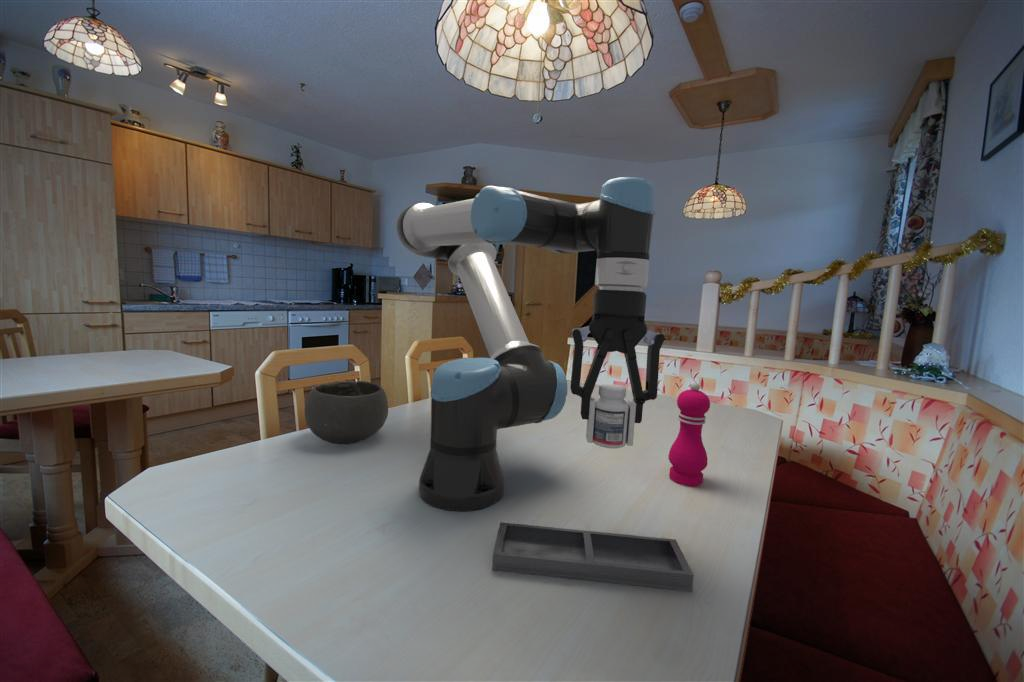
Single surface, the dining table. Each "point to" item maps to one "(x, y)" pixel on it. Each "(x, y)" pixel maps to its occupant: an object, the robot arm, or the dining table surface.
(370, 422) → the bowl
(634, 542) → the tray
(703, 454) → the pepper mill
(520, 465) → the dining table surface
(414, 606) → the dining table surface
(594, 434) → the pill bottle
